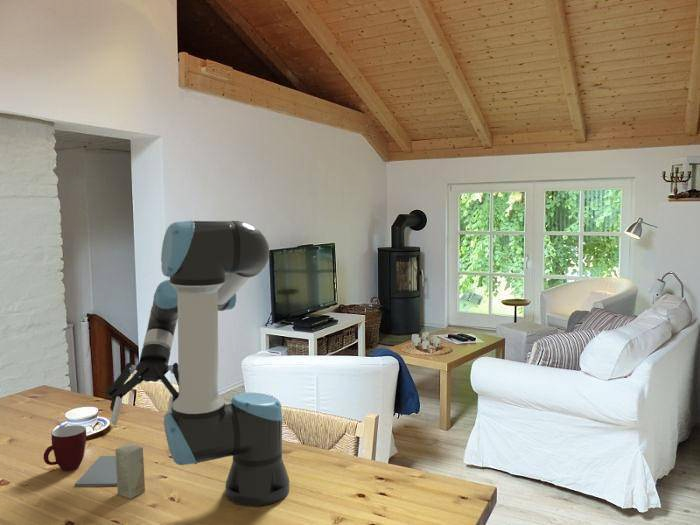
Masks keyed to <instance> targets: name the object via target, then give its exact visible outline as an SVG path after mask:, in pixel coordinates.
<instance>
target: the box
mask: <svg viewBox="0 0 700 525" xmlns="http://www.w3.org/2000/svg"><path fill="white" fill-rule="evenodd" d="M114 453H115V456H116V473H117V486H116V488H117V490H116V492H117V495H120V496H121V497H122V496H123V497H125V498H129V499H133V498H135V497H137V496H139V495H141V494H143V493H145V492H146V484H145V482H146V481H145V464H144V460H145V459H144V447H143V446H140V445H136V444H134V443H131V442H130V443H127V444H125V445H122V446H119V447H118V448H115V452H114Z"/></svg>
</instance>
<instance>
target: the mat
mask: <svg viewBox="0 0 700 525" xmlns="http://www.w3.org/2000/svg"><path fill="white" fill-rule="evenodd" d="M74 487H117V473H116V455H99V456H98V458H97V459H96V460H95V461H94V462H93V464H92V465H90V467H88V469H87V470H85V472H84V474H82V476H81V477H80V478H79V479H78V480H77V481H76V482H75V483H74Z"/></svg>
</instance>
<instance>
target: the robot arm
mask: <svg viewBox="0 0 700 525" xmlns="http://www.w3.org/2000/svg"><path fill="white" fill-rule="evenodd" d="M269 246H270V245H269V243H268V240H267V239H266V236H264V234H263V233H262V231H260V230H259V229H258V228H257V227H255V226H254V225H252V224H250V223H247V222H244V221H241V220H221V221H220V220H184V221H175V222H172V223H171V224H169V226H168V227H167V228H166V230H165V234H164V237H163V240H162V245H161V256H160V257H161V258H160V261H161V265H160V266H161V272H162V274H163V275H164V276H165V277H167V278H169V279H166V280H163V281H162V282H160V283H159V284H158V285H157V287H156V290H155V292H154V295H153V300H152V306H151V310H150V313H149V318H148V322H147V323H148V324H147V329H146V333H145V336H144V340H143V344H142V348H141V353H140V356H139V362H138V364H136V365H135V364H131V363H130V362H127V363H126V364H125V367H124V370H123V371H122V372H121V373H120V374H119V375H118V376H117V378H116V379H115V381H114V382H112V384H111V386H109V387H108V389H106V392H105V393H106V395H107V397H108V398H109V399H111V402H110V406H109V408H110V411H111V412H112V413H111V417H110V422H111V424H112V425H113V426H117V425H118V420H119V416H120V411H121V408H122V404H123V400H122V399H123V397H124V396H126V395H127V394H128V393H129V392H131V390H132V389H134V388H135V387H136V386H137V385H140V384H142V382H145V383H147V382H154V383H155V382H158V381H160V382H161V383H162V384H163V385H164V386H165V388H166V389H167V390H168V392H169V393H170V394H171V395H170V396H169V400H168V406H167V411H166V414H164V417H163V425H164V432H165V438H166V441H167V446H168V451H169V452H170V455H171V458H172V460H173V462H174V463H176V465H178V466H185V465H193V464H194V465H198V464H199V463H203V462H209V461H214V460H218V459H222V458H227V457H232V463H231V466H230V468H229V472H228V475H227V478H226V480H225V496H226V498H227V499H228V501H230V502H232V503H233V504H237V505H239V506H245V507H261V506H262V507H263V506H268V505H271V504H274V503H278V502H280V501H281V500H283V499H284V498H285V497H287V495H288V494H289V492H290V478H289V474H288V472H287V469H286V466H285V463H284V460H283V419H284V417H283V411H282V403H281V402H280V400H279V399H278V398H276V397H274V395H273V396H272V395H271V394H270V395H269V394H266V393H262V392H261V393H260V392H248V391H247V392H239V393H237V394H234V395H233V396H232V398H231V400H230V401H231V403H226V401H225V399H226V398H224V397H223V396H221V394H220V393H219V322H218V321H219V312H223V311H226V310H227V311H230V310H232V309H234V308H235V306H236V303H237V292H238V291H239V290H240V289H241V288H242V286H244V284H245V283H246V282H247V281H248V280H249V279H250V278H253V277H255V276H258V275H259V274H260V273H261V272H262V271H263V270H264V268H265V267H266V265H267V264H268V263H269V258H270V247H269ZM176 326H177V350H178V351H177V354H178V358H177V360H178V361H177V362H174V363H173V364H172V365H171V364H169V362H170V359H171V358H170V357H171V351H172V347H173V341H174V336H175V331H176ZM135 371H136V373H135ZM169 371H170V373H171V374H173V376H174V378H175V381H176V383H177V387H178V391H177V390H176V389H175V387H174V386H173V385H172V383H171V382H170V381H169V379H168V378H167V377H166V374H167V373H168V372H169ZM131 375H133V376H132V377H131ZM130 377H131V378H130ZM129 378H130V379H129ZM128 379H129V380H128Z"/></svg>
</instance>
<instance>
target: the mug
mask: <svg viewBox="0 0 700 525" xmlns="http://www.w3.org/2000/svg"><path fill="white" fill-rule="evenodd" d="M86 444H87V428H86V427H85V426H84V425H80V424H79V425H77V424H73V425H66V426H65V425H64V426H62V427H58V428H56V429H54V430H52V431H51V445H49V446H48V447H47V448H46V449H45V450H44V453H43V461H44V463H45V464H46V465H49V466H56V465H57V466H58V467H59V468H60V469H61V471H63V472H73V471H75V470H77V469H78V468H79V467H80V466H81V463H82V461H83V459H84V457H85V451H86ZM52 451H53V455H54V458H55V460H54V461H50V458H49V455H50V453H51V452H52Z"/></svg>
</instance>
